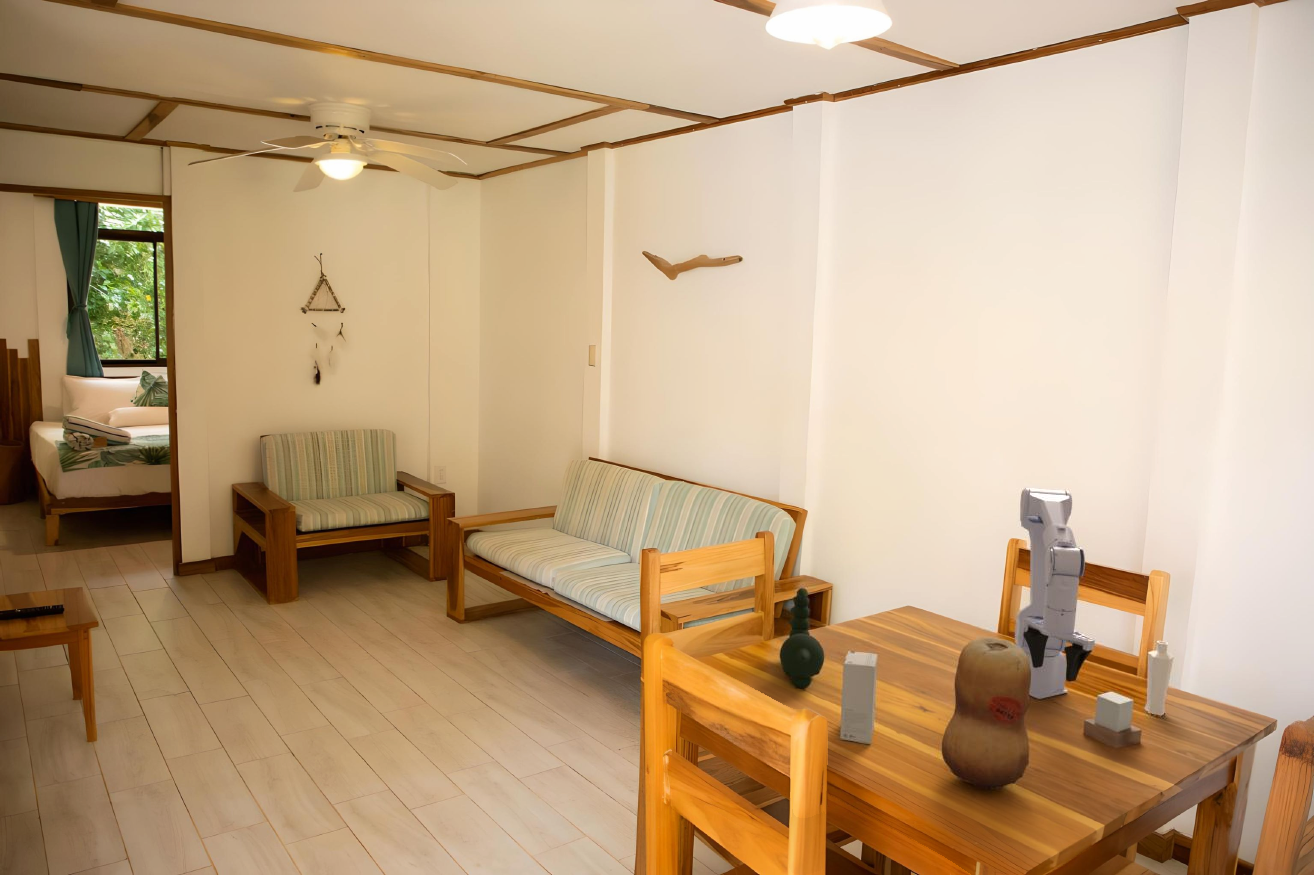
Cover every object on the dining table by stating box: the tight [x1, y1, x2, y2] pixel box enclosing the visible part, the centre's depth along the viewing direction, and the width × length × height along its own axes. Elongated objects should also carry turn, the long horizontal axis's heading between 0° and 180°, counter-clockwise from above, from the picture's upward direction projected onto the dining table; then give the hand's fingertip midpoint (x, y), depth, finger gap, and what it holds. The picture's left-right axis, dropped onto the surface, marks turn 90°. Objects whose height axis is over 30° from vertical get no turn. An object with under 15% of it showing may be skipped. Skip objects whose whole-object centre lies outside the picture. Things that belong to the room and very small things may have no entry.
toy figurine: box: [779, 587, 825, 689], centre depth 195 cm, size 9×19×25 cm
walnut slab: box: [1083, 717, 1143, 749], centre depth 171 cm, size 7×7×3 cm
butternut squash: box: [941, 636, 1031, 790], centre depth 149 cm, size 14×13×25 cm
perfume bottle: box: [1144, 640, 1174, 715], centre depth 183 cm, size 5×4×15 cm
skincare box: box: [839, 650, 878, 745], centre depth 168 cm, size 8×6×15 cm
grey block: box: [1094, 691, 1135, 732], centre depth 170 cm, size 4×4×6 cm
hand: (1053, 673), depth 176 cm, fingers open, 7 cm apart
